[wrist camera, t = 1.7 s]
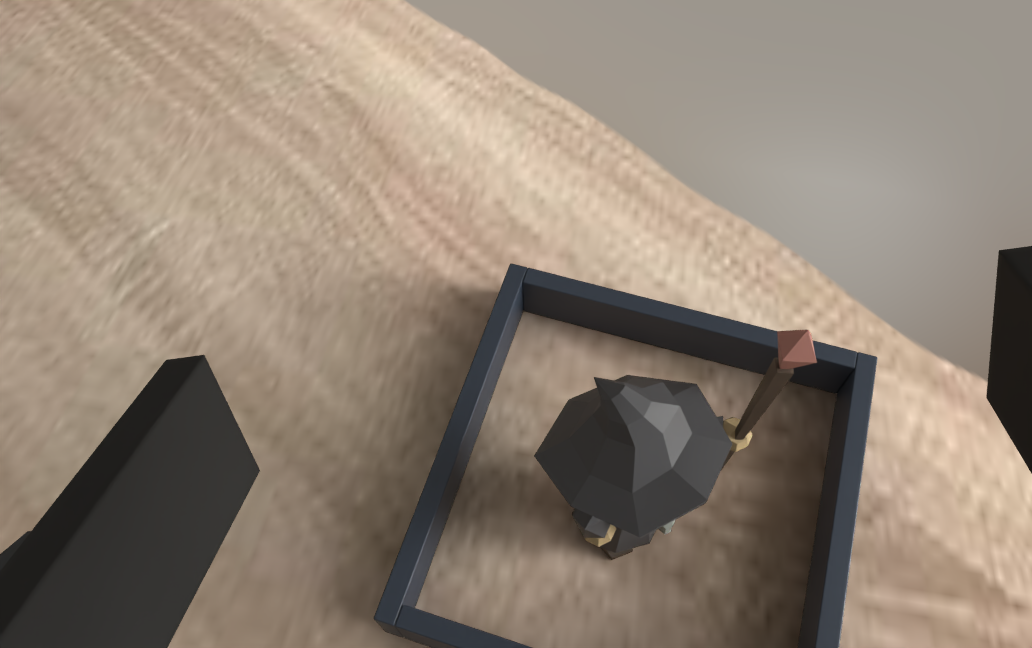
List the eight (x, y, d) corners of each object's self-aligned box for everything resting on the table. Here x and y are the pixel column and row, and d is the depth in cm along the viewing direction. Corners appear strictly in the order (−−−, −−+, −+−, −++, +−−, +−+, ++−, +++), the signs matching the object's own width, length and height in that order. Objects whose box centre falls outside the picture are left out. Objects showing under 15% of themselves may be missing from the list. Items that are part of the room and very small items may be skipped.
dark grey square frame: (384, 631, 32) (372, 619, 30) (512, 292, 39) (510, 262, 37) (802, 774, 29) (823, 772, 27) (857, 383, 37) (878, 356, 34)
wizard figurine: (616, 625, 32) (653, 541, 22) (514, 520, 34) (502, 396, 24) (756, 478, 35) (850, 339, 24) (653, 388, 37) (698, 224, 26)
